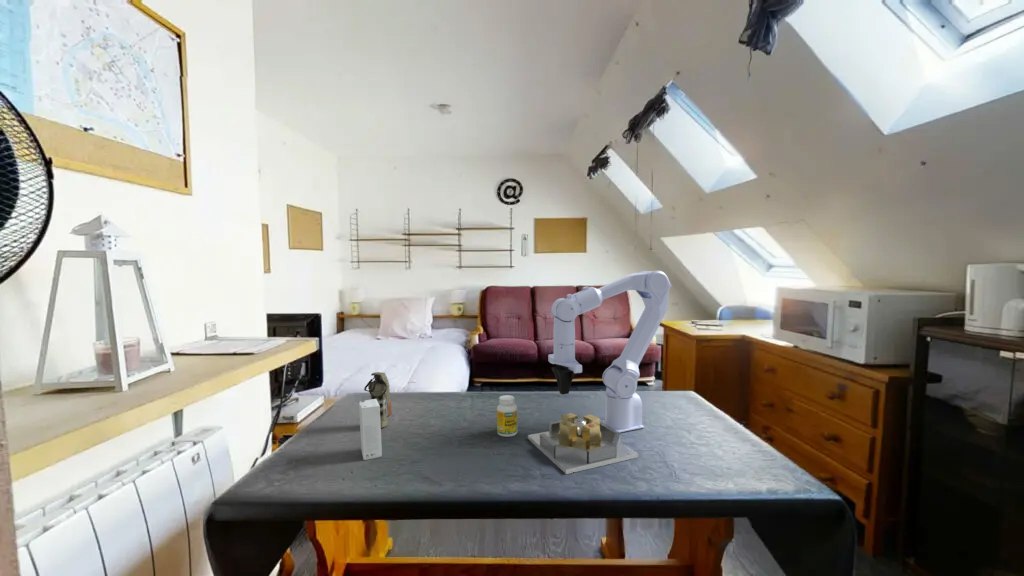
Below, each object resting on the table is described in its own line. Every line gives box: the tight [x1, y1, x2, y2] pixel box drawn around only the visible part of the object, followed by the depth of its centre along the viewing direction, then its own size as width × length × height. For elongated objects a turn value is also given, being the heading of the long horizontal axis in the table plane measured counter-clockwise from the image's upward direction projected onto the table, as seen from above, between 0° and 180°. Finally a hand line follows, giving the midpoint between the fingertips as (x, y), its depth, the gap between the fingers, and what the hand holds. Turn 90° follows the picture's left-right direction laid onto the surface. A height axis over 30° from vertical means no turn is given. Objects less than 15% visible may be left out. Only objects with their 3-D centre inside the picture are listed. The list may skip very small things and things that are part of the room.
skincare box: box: [358, 398, 383, 461], centre depth 93 cm, size 6×4×12 cm
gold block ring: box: [559, 412, 601, 449], centre depth 95 cm, size 10×10×6 cm
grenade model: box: [363, 371, 393, 429], centre depth 108 cm, size 6×7×15 cm
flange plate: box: [527, 418, 639, 475], centre depth 95 cm, size 19×19×7 cm
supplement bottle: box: [496, 394, 518, 438], centre depth 104 cm, size 5×5×10 cm
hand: (564, 393), depth 106 cm, fingers closed
